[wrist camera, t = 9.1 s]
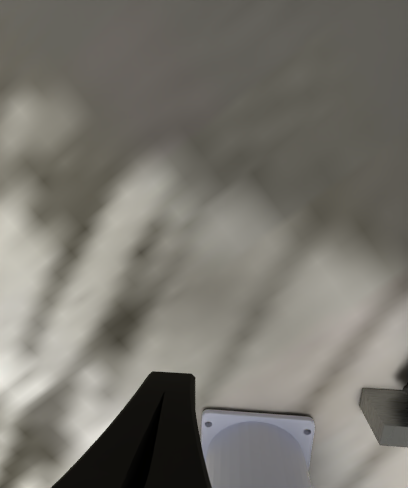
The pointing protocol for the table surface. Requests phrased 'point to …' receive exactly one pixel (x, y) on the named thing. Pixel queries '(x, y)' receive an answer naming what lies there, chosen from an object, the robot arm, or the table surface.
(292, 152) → the table surface
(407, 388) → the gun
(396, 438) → the slate box
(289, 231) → the table surface
